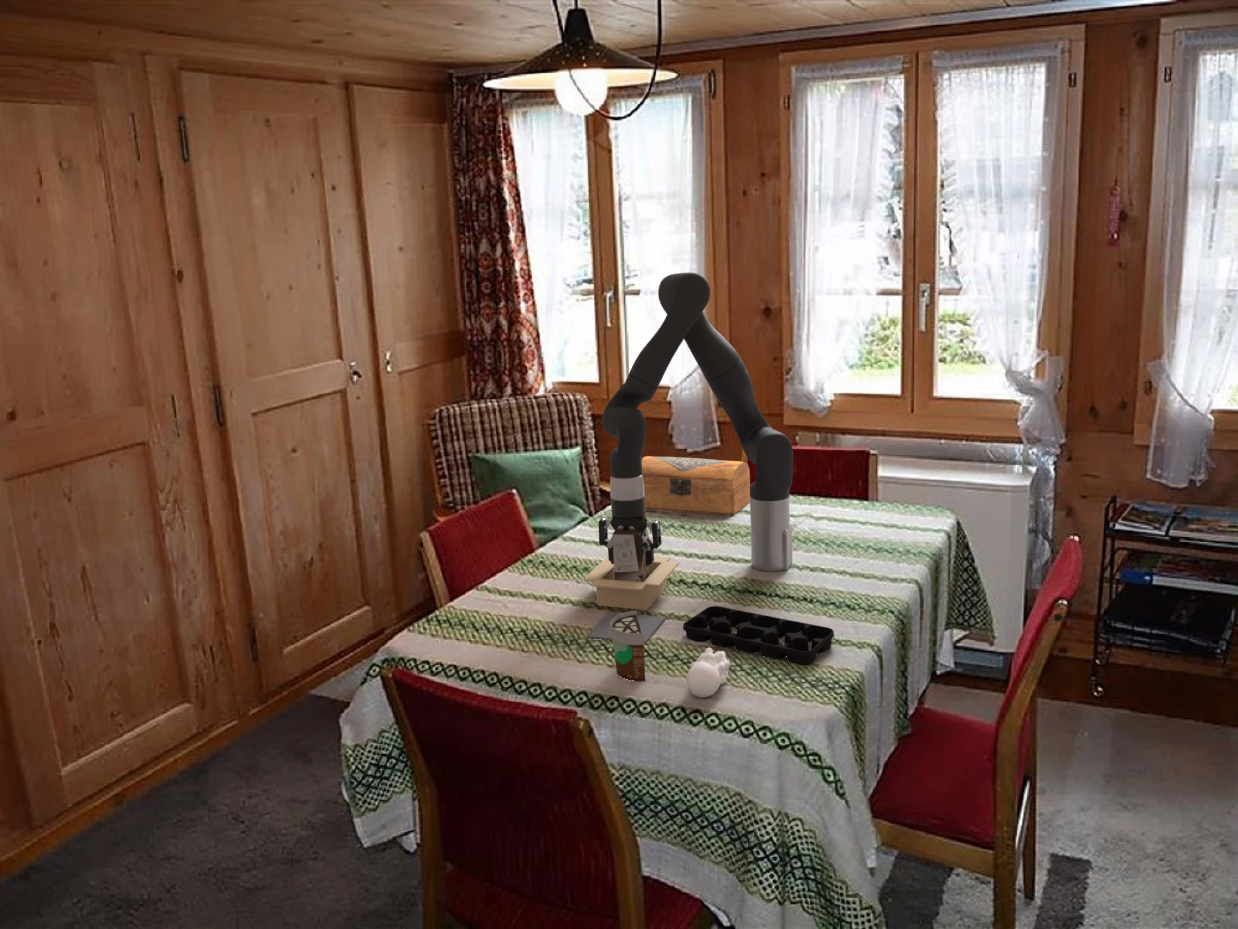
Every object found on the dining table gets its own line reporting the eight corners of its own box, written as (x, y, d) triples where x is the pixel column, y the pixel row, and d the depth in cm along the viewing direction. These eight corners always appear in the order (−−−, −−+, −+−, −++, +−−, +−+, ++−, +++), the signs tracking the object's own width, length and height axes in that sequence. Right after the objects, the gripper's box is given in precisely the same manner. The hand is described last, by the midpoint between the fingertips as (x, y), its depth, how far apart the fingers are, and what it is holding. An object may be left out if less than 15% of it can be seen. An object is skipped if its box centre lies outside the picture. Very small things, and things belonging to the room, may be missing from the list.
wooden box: (633, 510, 310) (630, 464, 306) (656, 495, 324) (654, 450, 321) (732, 518, 297) (730, 470, 294) (751, 502, 311) (750, 455, 308)
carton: (683, 582, 250) (682, 558, 249) (655, 616, 231) (654, 589, 230) (612, 577, 256) (611, 553, 255) (580, 609, 237) (578, 583, 236)
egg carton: (822, 671, 202) (821, 653, 201) (672, 652, 214) (671, 635, 213) (841, 635, 217) (841, 618, 216) (701, 619, 229) (700, 603, 228)
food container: (608, 660, 211) (605, 612, 208) (639, 657, 211) (636, 609, 209) (613, 687, 199) (610, 637, 197) (646, 684, 199) (643, 634, 197)
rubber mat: (665, 620, 229) (665, 617, 229) (645, 644, 217) (645, 641, 217) (608, 615, 233) (608, 612, 233) (586, 638, 222) (585, 635, 221)
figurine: (671, 686, 192) (692, 654, 203) (697, 713, 192) (717, 680, 203) (697, 665, 189) (717, 634, 200) (723, 692, 189) (742, 660, 199)
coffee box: (643, 603, 239) (639, 534, 235) (615, 603, 240) (611, 534, 236) (650, 588, 247) (647, 521, 243) (623, 588, 249) (619, 521, 245)
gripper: (663, 491, 239) (666, 560, 243) (603, 488, 244) (607, 556, 248) (652, 500, 232) (656, 572, 236) (591, 497, 237) (595, 567, 241)
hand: (631, 564), depth 242 cm, fingers open, 8 cm apart
